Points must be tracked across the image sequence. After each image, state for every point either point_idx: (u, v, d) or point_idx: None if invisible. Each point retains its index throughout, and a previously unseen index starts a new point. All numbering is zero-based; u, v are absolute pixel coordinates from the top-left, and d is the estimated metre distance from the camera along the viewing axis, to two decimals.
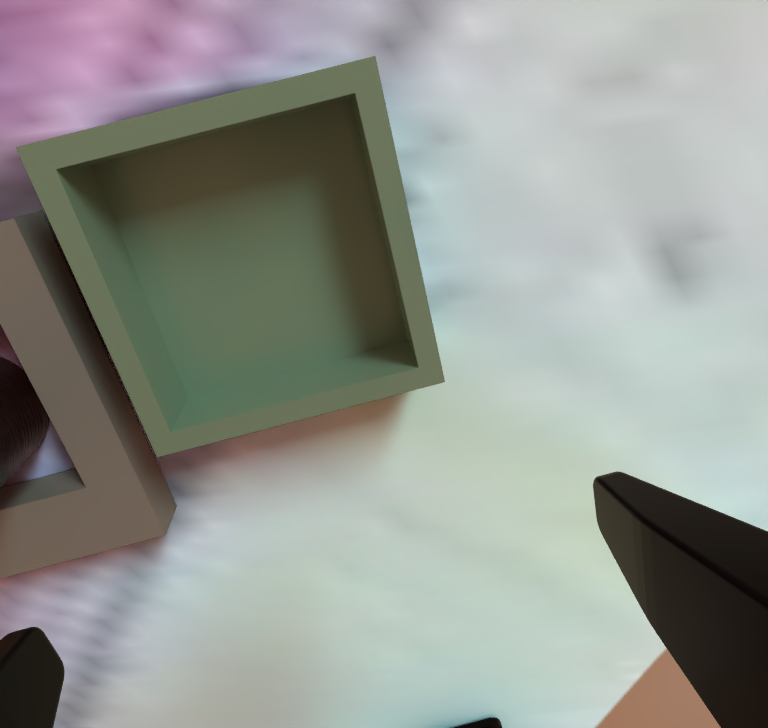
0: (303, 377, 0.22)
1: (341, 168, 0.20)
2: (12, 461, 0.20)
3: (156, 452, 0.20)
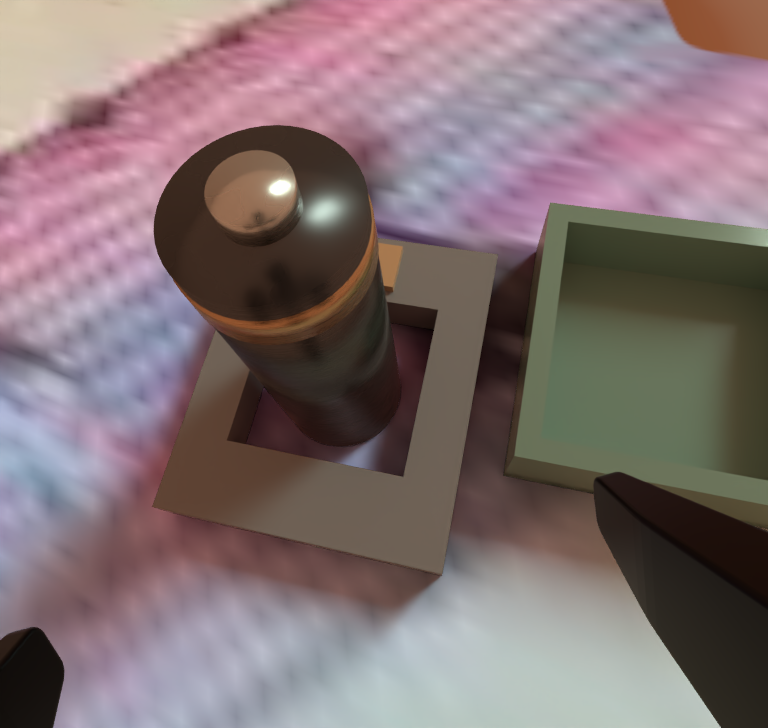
0: None
1: (751, 331, 0.23)
2: (378, 406, 0.21)
3: (516, 450, 0.19)
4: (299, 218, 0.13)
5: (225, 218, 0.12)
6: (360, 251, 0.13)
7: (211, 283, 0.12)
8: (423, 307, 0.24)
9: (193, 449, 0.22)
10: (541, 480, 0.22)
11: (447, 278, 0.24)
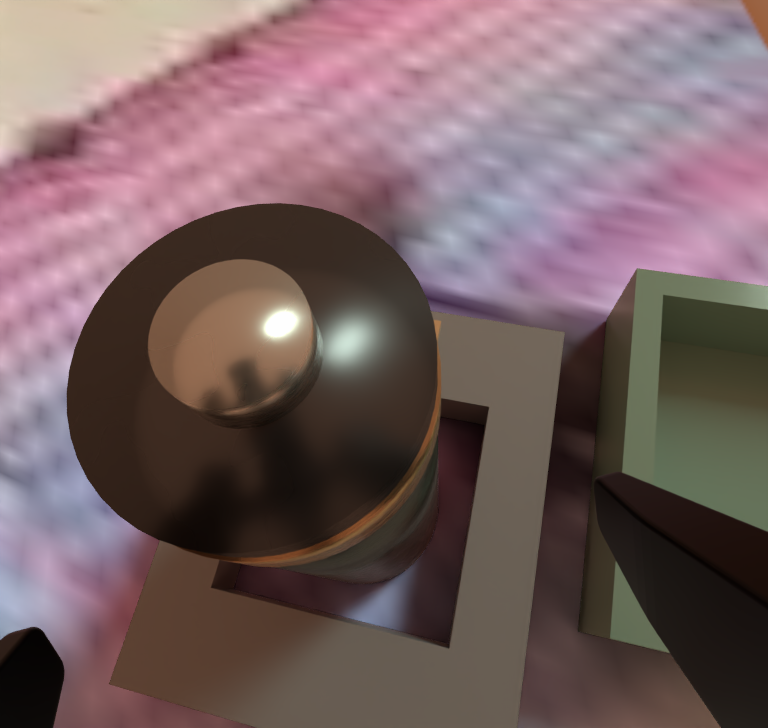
0: None
1: None
2: (414, 551, 0.16)
3: (612, 630, 0.14)
4: (317, 375, 0.07)
5: (183, 393, 0.07)
6: (424, 434, 0.07)
7: (160, 500, 0.07)
8: (469, 403, 0.18)
9: (166, 600, 0.17)
10: None
11: (500, 363, 0.18)
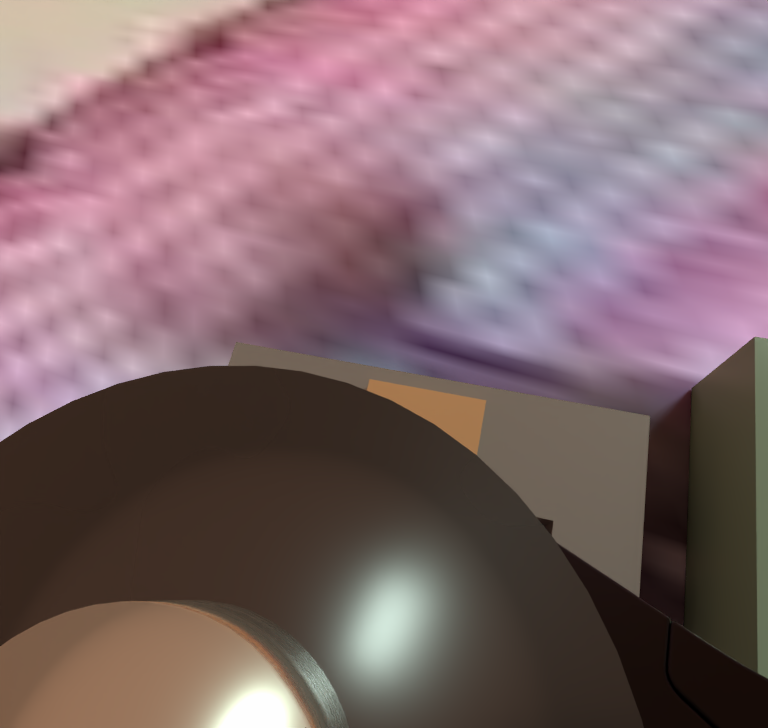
0: None
1: None
2: None
3: None
4: None
5: None
6: None
7: None
8: None
9: None
10: None
11: (565, 459, 0.14)
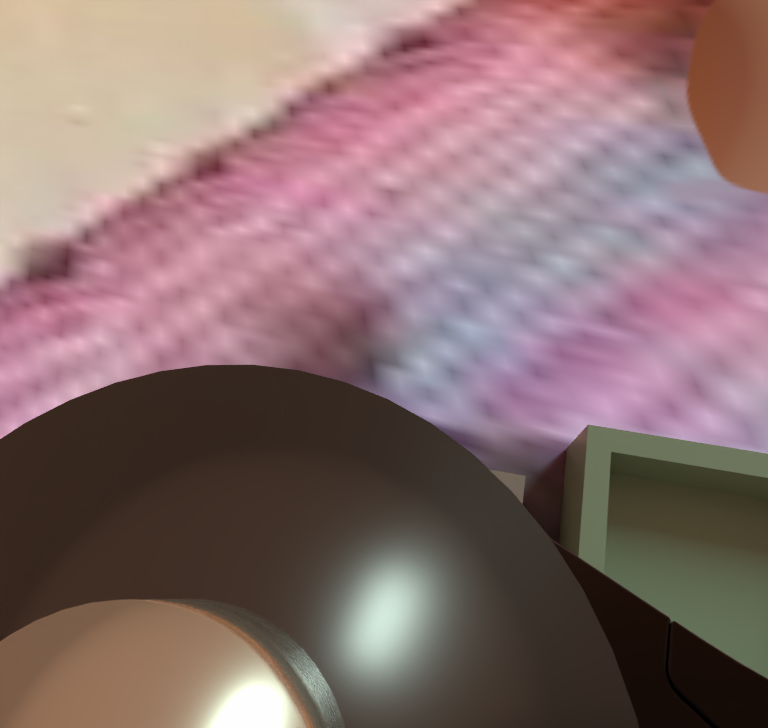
0: None
1: None
2: None
3: None
4: None
5: None
6: None
7: None
8: None
9: None
10: None
11: None
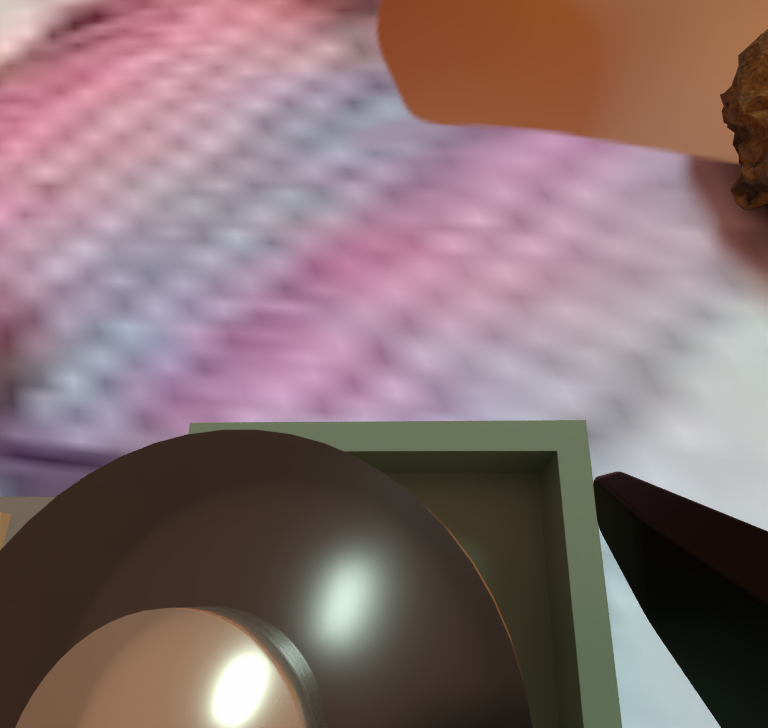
0: None
1: (514, 544, 0.17)
2: None
3: None
4: None
5: None
6: None
7: None
8: None
9: None
10: None
11: None
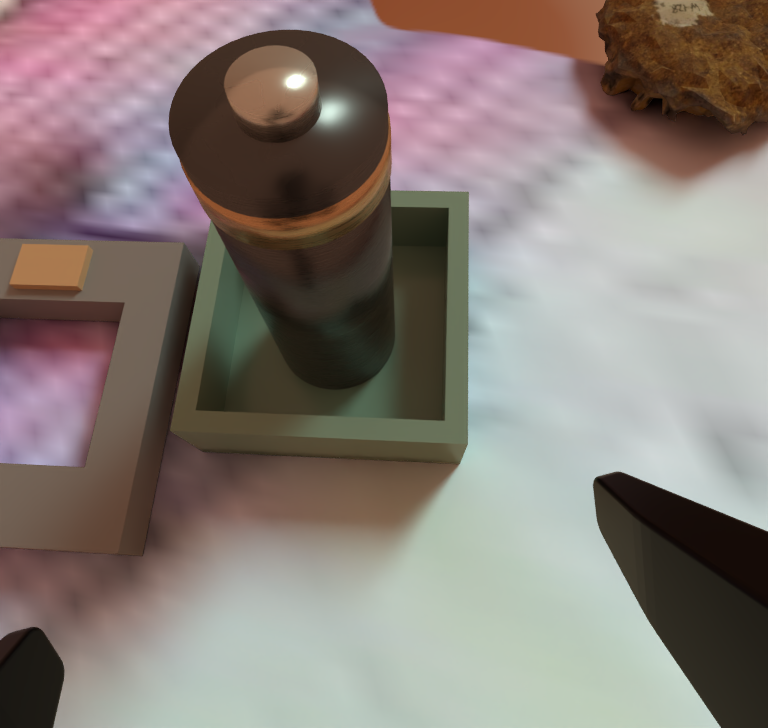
0: None
1: (424, 286, 0.25)
2: (374, 345, 0.21)
3: (172, 425, 0.20)
4: (317, 118, 0.13)
5: (245, 107, 0.12)
6: (377, 155, 0.13)
7: (226, 175, 0.12)
8: (110, 302, 0.24)
9: None
10: (233, 450, 0.23)
11: (134, 271, 0.25)
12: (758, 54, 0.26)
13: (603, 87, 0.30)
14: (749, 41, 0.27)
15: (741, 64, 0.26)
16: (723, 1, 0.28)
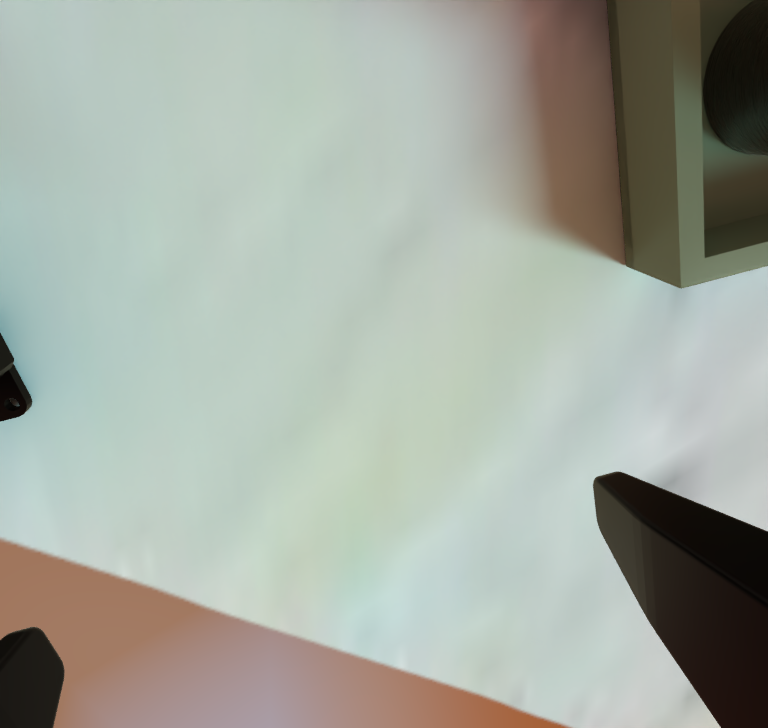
0: None
1: None
2: None
3: None
4: None
5: None
6: None
7: None
8: None
9: None
10: None
11: None
12: None
13: None
14: None
15: None
16: None
